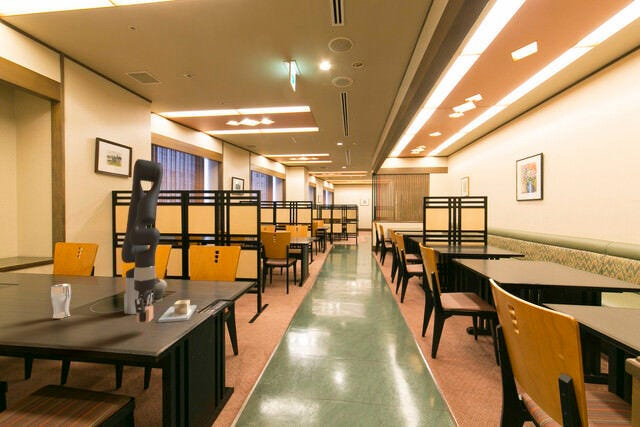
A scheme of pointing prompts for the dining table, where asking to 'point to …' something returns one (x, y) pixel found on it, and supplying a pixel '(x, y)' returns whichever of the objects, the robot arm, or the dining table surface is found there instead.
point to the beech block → (182, 307)
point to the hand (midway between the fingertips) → (145, 318)
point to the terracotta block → (147, 314)
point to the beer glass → (61, 300)
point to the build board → (170, 316)
